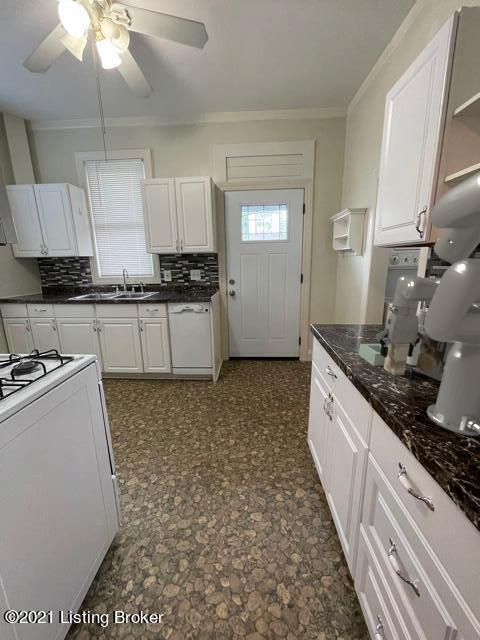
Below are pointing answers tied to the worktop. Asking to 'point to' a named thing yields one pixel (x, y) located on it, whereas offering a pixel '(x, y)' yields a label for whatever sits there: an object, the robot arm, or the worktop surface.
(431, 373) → the coffee box
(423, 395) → the worktop surface
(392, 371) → the beige rectangular block
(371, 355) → the end cap
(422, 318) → the cosmetic bottle
